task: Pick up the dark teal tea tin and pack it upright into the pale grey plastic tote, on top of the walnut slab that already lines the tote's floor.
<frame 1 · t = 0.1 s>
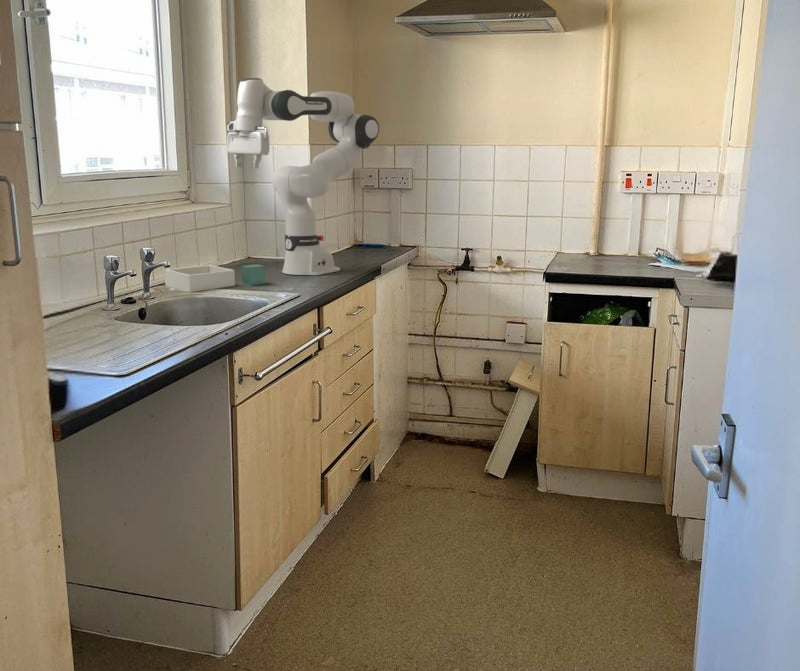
hand: (246, 168, 273), 39 cm above the counter, tool pointing down, fingers open, 8 cm apart
slab: (200, 285, 263), point 1 cm above the counter, touching tote
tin: (253, 286, 268), on the counter
tote: (200, 287, 263), on the counter
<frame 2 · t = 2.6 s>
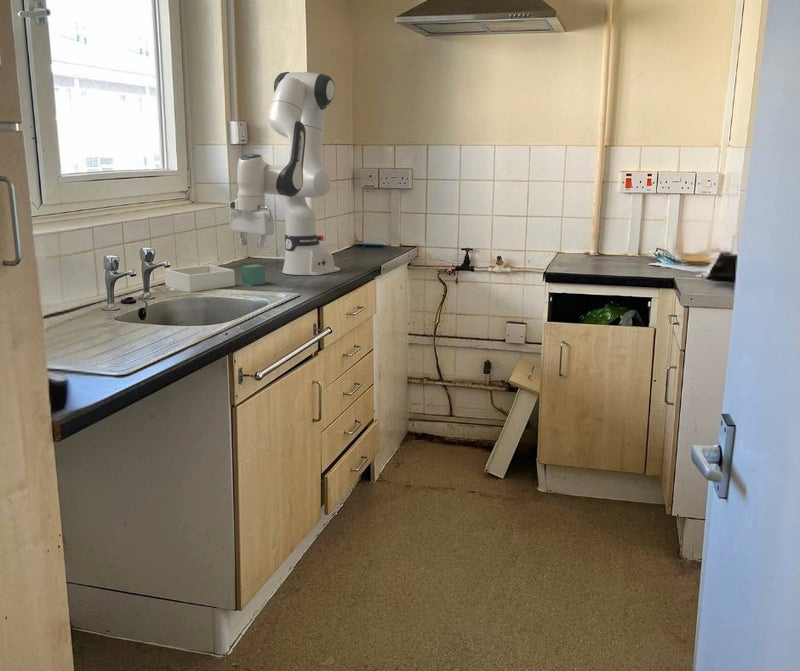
hand: (251, 246, 264), 13 cm above the counter, tool pointing down, fingers open, 8 cm apart
nothing on the counter moved.
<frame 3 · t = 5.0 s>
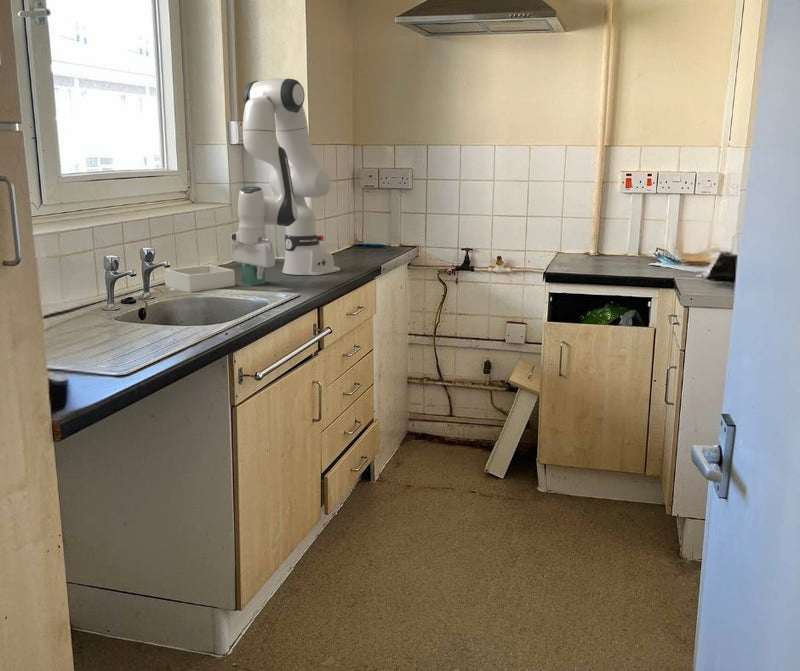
hand: (253, 277, 267), 3 cm above the counter, tool pointing down, fingers closed on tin, 4 cm apart
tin: (253, 286, 268), on the counter, touching gripper
everything else where it was.
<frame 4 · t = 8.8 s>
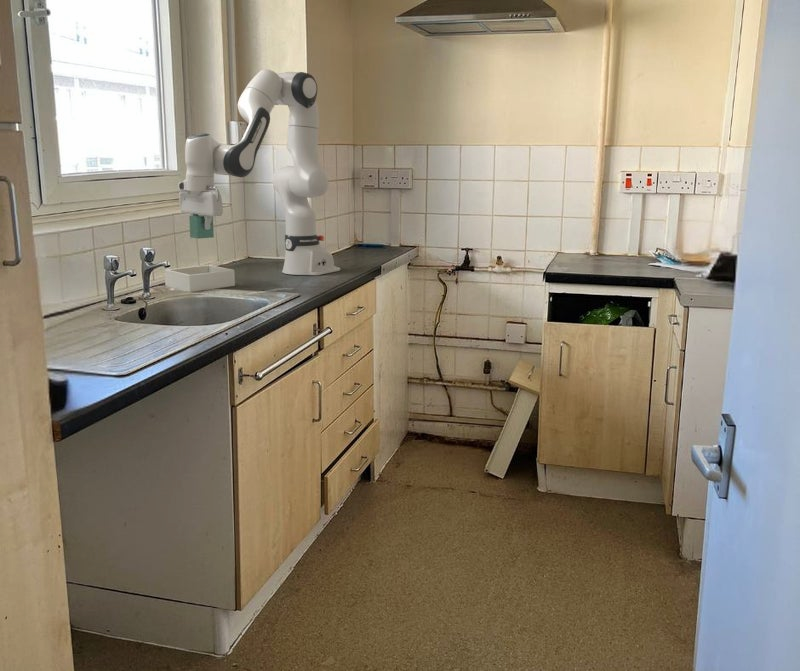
hand: (201, 228, 259), 20 cm above the counter, tool pointing down, fingers closed on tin, 4 cm apart
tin: (201, 237, 259), point 17 cm above the counter, touching gripper
everything else where it was.
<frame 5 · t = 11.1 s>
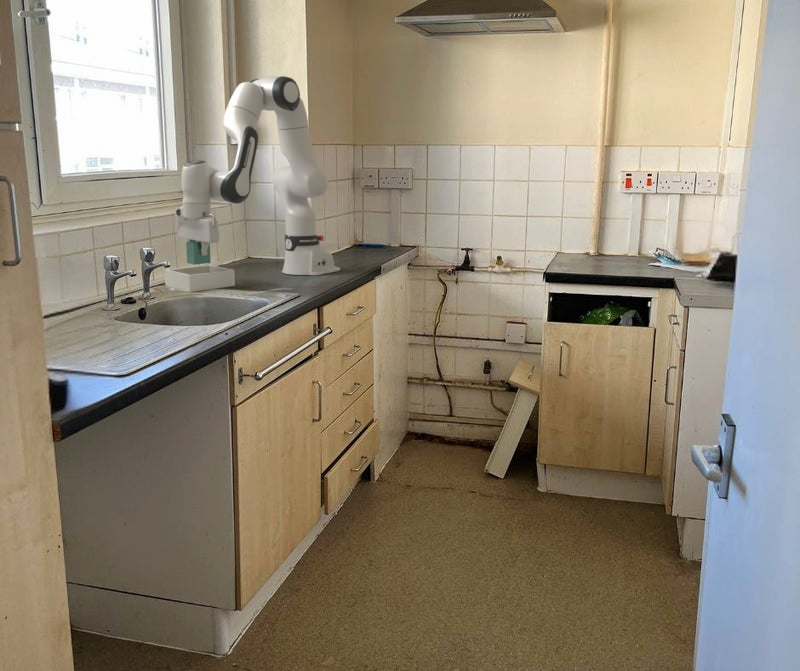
hand: (198, 254, 261), 11 cm above the counter, tool pointing down, fingers closed on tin, 4 cm apart
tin: (198, 262, 261), point 8 cm above the counter, touching gripper
everything else where it was.
when the fingers open (7 cm above the counter, at t = 12.9 s): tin drops 2 cm, resting on slab.
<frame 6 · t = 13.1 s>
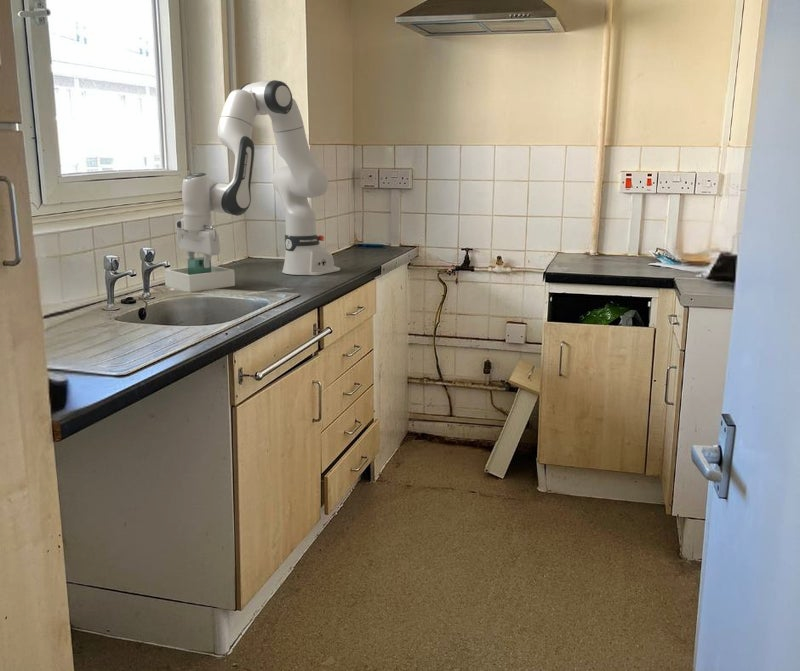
hand: (199, 266, 262), 7 cm above the counter, tool pointing down, fingers open, 6 cm apart
slab: (200, 285, 263), point 1 cm above the counter, touching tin, tote
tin: (200, 279, 263), point 3 cm above the counter, touching slab
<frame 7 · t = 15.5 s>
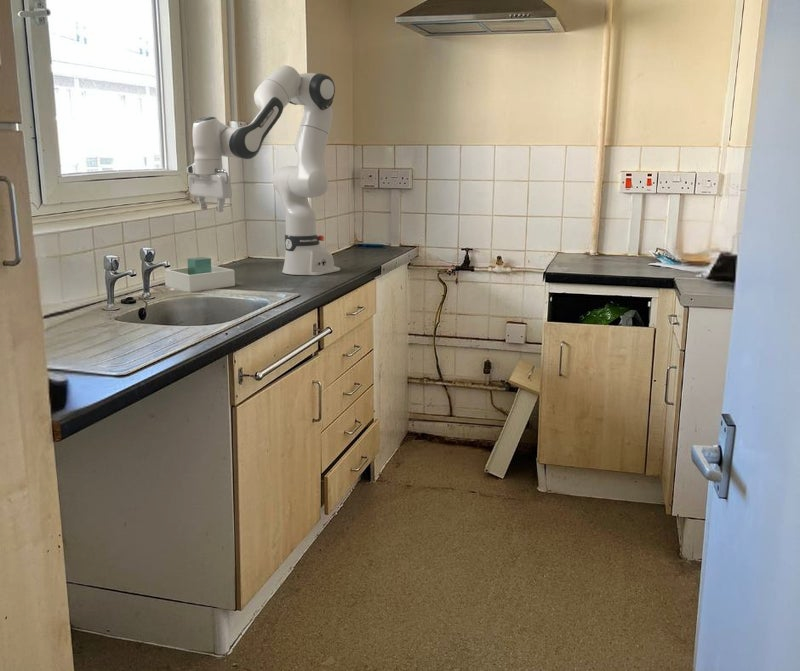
hand: (211, 210, 263), 25 cm above the counter, tool pointing down, fingers open, 8 cm apart
nothing on the counter moved.
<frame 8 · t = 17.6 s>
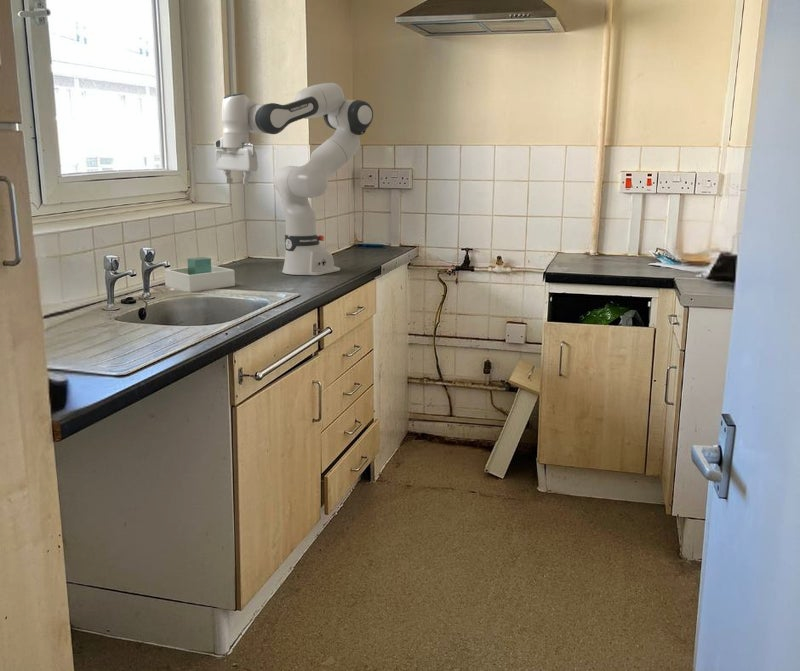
hand: (237, 184, 273), 33 cm above the counter, tool pointing down, fingers open, 8 cm apart
nothing on the counter moved.
at the end: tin inside the target area on the tote (0.0 cm from its centre), point 2.8 cm above the tote's base; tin tilted 0°; the gripper is holding nothing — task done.
